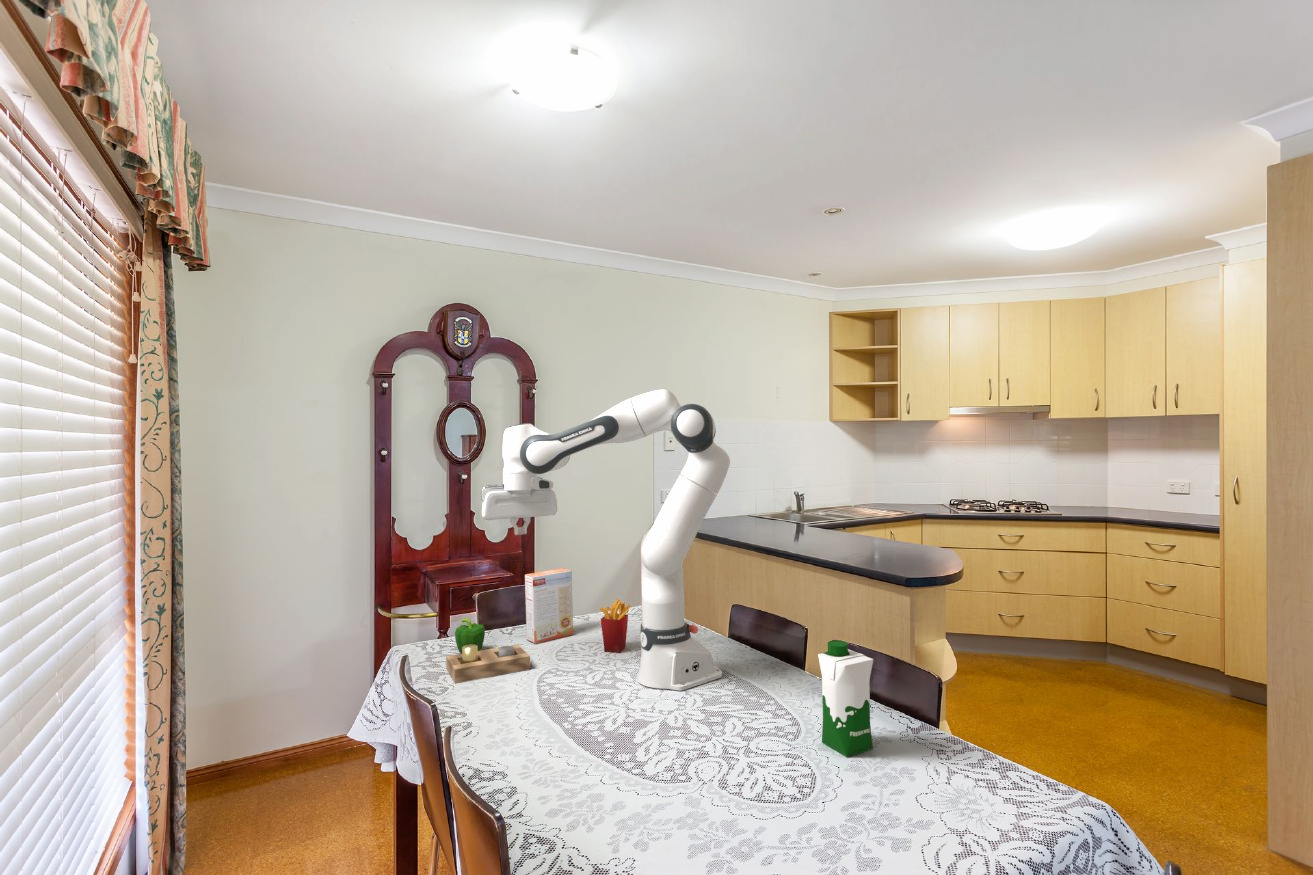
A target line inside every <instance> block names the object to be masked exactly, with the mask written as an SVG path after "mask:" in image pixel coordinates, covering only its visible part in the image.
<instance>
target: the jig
mask: <svg viewBox="0 0 1313 875" xmlns="http://www.w3.org/2000/svg"><path fill="white" fill-rule="evenodd" d="M445 660H446V662H445V663H446V664H445V666H446V671H447V672H448V675H449V676H450V677H451V680H452V681H453V682H454V684H459V683H464V682H469V681H475V680H480V679H486V678H491V677H496V676H502V675H506V674H512V673H517V672H518V673H519V672H523V671H528V670H531V655H529V654H528V653H527V652H526V651H525V650H524V649H523V648H522V647H521V646H520V644H513V645H504V646H500V647H495V648H494V647H493V648H488V649H481V650H480V651H478V661H477V662H471V663H465V664H462V654H461V653H458V654H452V655H447V656H445Z"/></svg>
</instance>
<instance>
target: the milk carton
mask: <svg viewBox="0 0 1313 875" xmlns="http://www.w3.org/2000/svg"><path fill="white" fill-rule="evenodd" d="M817 657H818V661H819V668H820V672H821V685H822V686H821V690H822V698H821V699H822V728H821V729H822V731H821V743H822V744H824V745H826V746H827V747H828V748H830V749H832V750H834V751H835V752H837V753H839V754H841V755H842V756H844V757H845V758H849V757H851V756H854V755H857V754H861V753H863V752H866V751H870V750H874V746H873V737H872V728H871V727H872V726H871V707H870V706H871V704H870V702H871V700H870V699H871V698H870V697H871V696H870V695H871V694H870V692H871V691H870V679H871V674H872V668H873V664H874V658H871V657H868V656H866V655H865V654H863V653H859V652H858V651H857V652H856V651H854V650H851V649H849V644H848V642H846V641H843V640H829V641H828V642H827V651H823V652H822V653H819V654H817Z"/></svg>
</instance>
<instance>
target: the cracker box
mask: <svg viewBox="0 0 1313 875" xmlns="http://www.w3.org/2000/svg"><path fill="white" fill-rule="evenodd" d="M572 580H573V578H572V570H571V569H566V568H564V567H563V568H557V569H549V570H544V571H537V572H532V573H526V574H524V592H525V593H524V594H525V595H524V596H525V622H526V624H525V625H526V626H525V627H526V641H529V642H530V643H533V644H536V645H537V644H539V643H544V642H549V641H552V640H557V639H560V638H566V637H570V636H573V635H574V613H573V612H574V610H573V609H574V608H573V606H574V605H573V581H572Z"/></svg>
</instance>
